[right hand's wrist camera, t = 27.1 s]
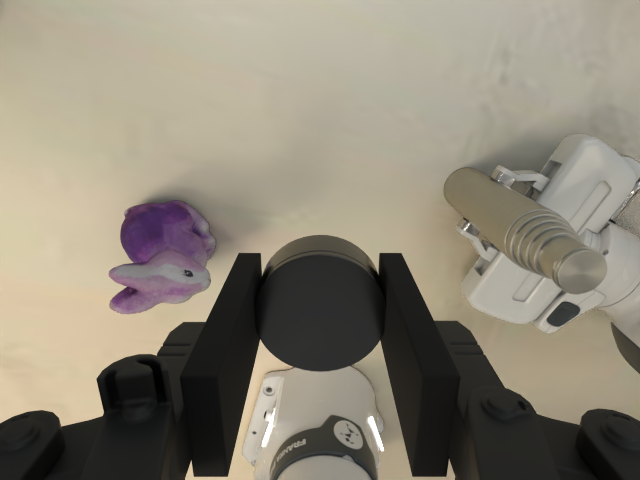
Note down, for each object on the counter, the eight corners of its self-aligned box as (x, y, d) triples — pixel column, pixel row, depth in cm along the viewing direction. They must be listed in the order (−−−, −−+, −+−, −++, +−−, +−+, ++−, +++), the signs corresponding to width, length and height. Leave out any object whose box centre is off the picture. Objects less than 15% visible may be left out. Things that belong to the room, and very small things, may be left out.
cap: (256, 334, 15) (248, 365, 14) (265, 227, 14) (258, 246, 12) (369, 346, 16) (375, 378, 14) (390, 242, 14) (399, 263, 12)
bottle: (445, 167, 47) (551, 235, 25) (488, 167, 47) (631, 236, 25) (441, 208, 49) (536, 306, 27) (482, 208, 49) (611, 307, 27)
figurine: (233, 258, 51) (199, 323, 37) (155, 275, 52) (93, 344, 38) (210, 185, 48) (163, 225, 34) (127, 204, 49) (48, 250, 35)
